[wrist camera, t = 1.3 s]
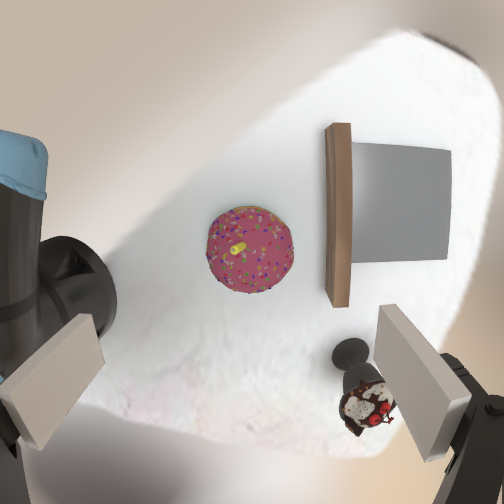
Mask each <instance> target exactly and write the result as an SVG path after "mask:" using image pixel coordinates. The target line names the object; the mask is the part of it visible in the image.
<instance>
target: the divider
mask: <svg viewBox="0 0 504 504" xmlns="http://www.w3.org/2000/svg"><path fill="white" fill-rule="evenodd" d="M325 143H326V174H327V259H326V292H327V295H328V297H329V299H330V301H331V304H332V306H333V308H341V307H349V294H350V278H351V257H352V224H353V174H352V141H351V123H333V124H331V125H330V126H329V127H327V128H326V129H325Z"/></svg>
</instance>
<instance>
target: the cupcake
mask: <svg viewBox="0 0 504 504" xmlns="http://www.w3.org/2000/svg"><path fill="white" fill-rule="evenodd" d="M293 249H294V247H293V244H292V238H291V233H290V230H289V228H288V227H287V226H286V225H285V224H284V223H283V222H282V221H281V220H280V219H279V218H278V217H276V216H275V215H274V214H272V213H271V212H269V211H267V210H265V209H262V208H259V207H254V206H246V207H238V208H235V209H232V210H230V211H228V212H227V213H225V214H223V215H221V216H219V217H217V218H216V220H215V221H214V222H213V224H212V225H211V227H210V229H209V236H208V242H207V251H206V256H207V259H208V263H209V265H210V268H211V272H212V273H213V274H214V276H215V278H217V280H218V281H220V282H221V283H223V284H224V285H225V286H227V287H228V288H230V289H232V290H235V291H239V292H244V293H248V294H250V293H256V292H257V293H259V292H263V291H265V290H267V289H271V287H273V286H274V285H276V284H277V283H278V282H280V281H281V280H282V279H283V277H284V276H285V275H286V273H287V272H288V271H289V270H290V268H291V266H292V264H293V261H294V252H293Z"/></svg>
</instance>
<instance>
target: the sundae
mask: <svg viewBox="0 0 504 504" xmlns="http://www.w3.org/2000/svg"><path fill="white" fill-rule="evenodd" d="M368 355H369V348H368V345H367V344H366V343H365V342H364V341H363V340H361V339H356V338H353V339H348V340H345V341H343V342H341V343H340V344H339V345H338V346H337V347H336V348H335V350H334V351H333V355H332V360H333V363H334V365H335V366H336V367H337V368H339V369H341V370H344V371H345V373H344V376H343V393H344V395H343V396H342V398H341V400H340V405H339V413H340V417H341V419H342V420H343V421H345V425H346V427H347V428H348V429H349V430H350V431H351V432H352V433H354V434H355V435H356V436H357V437H359V436H360V435H361V433H362V432H363V430H364V428H365V427H366V428H370V427H371V428H372V427H375V426H377V425H379V424H380V423H381V422H383V423H388V424H390V422H391V421H392V420H393V419H394V418H393V417H391V418H389V414H390V412H391V411H392V410H393V409H394V408H395V406H396V405H397V404H396V402H395V400H394V398H393V396H392V394H391V392H390V390H389V388H388V386H387V384H386V382H385V380H384V378H383V377H382V376H381V375H380V373H379V372H378V371H377V370H376V369H375V368H374V367H373V366H372V365H371V364H369V363H367V362H365V361H366V360H367V358H368ZM385 417H388V419H389V420H388V421H387V422H386V421H383V420H384V418H385Z"/></svg>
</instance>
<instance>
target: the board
mask: <svg viewBox="0 0 504 504" xmlns="http://www.w3.org/2000/svg"><path fill="white" fill-rule="evenodd" d="M352 174H353V224H352V257H351V263H361V262H391V261H418V260H443V259H447V254H448V244H449V232H450V216H451V186H452V167H451V151H449V150H441V149H432V148H422V147H412V146H399V145H385V144H368V143H352Z"/></svg>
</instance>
